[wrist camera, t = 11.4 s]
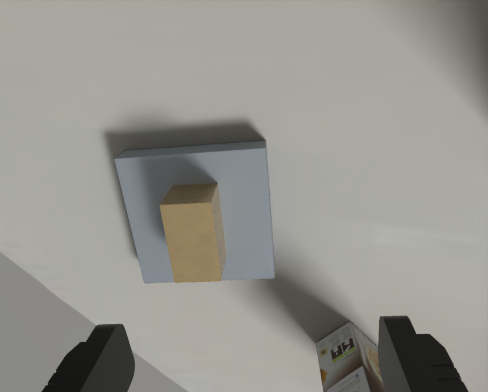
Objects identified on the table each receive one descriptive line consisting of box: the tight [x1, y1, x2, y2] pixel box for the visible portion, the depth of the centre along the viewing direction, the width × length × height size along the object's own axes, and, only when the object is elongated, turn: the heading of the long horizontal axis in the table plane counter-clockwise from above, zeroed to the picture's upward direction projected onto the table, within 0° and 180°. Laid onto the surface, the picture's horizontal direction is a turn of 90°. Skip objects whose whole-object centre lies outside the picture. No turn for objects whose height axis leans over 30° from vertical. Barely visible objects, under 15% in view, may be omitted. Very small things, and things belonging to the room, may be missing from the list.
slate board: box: [114, 140, 275, 283], centre depth 43 cm, size 16×16×3 cm
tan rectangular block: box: [160, 183, 226, 283], centre depth 39 cm, size 5×9×5 cm, turn 5°
